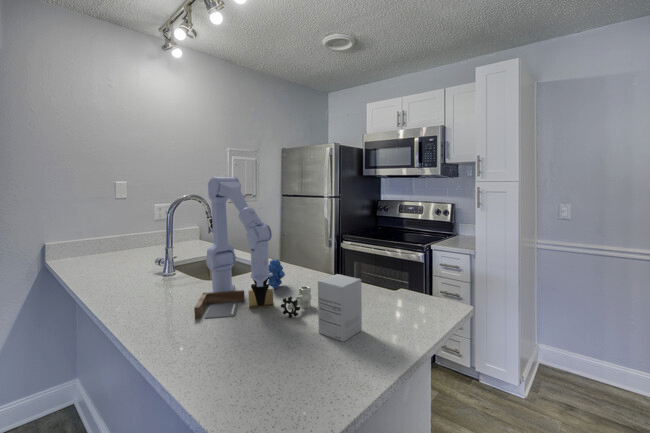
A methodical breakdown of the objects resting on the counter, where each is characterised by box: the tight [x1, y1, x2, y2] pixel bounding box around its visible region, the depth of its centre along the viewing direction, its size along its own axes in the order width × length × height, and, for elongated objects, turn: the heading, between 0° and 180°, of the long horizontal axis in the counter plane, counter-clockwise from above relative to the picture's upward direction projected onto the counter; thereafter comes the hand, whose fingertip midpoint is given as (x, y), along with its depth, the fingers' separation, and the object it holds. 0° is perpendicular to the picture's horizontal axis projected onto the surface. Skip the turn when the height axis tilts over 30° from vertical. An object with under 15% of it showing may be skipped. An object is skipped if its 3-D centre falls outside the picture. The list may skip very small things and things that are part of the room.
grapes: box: [267, 258, 286, 290], centre depth 128 cm, size 12×7×12 cm, turn 162°
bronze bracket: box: [248, 288, 274, 309], centre depth 112 cm, size 8×5×6 cm, turn 100°
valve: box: [280, 285, 312, 318], centre depth 106 cm, size 7×7×12 cm
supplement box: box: [317, 273, 363, 343], centre depth 91 cm, size 9×9×15 cm
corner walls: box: [193, 289, 246, 320], centre depth 109 cm, size 14×14×4 cm
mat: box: [204, 302, 239, 320], centre depth 107 cm, size 11×9×1 cm
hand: (261, 300), depth 110 cm, fingers open, 7 cm apart
